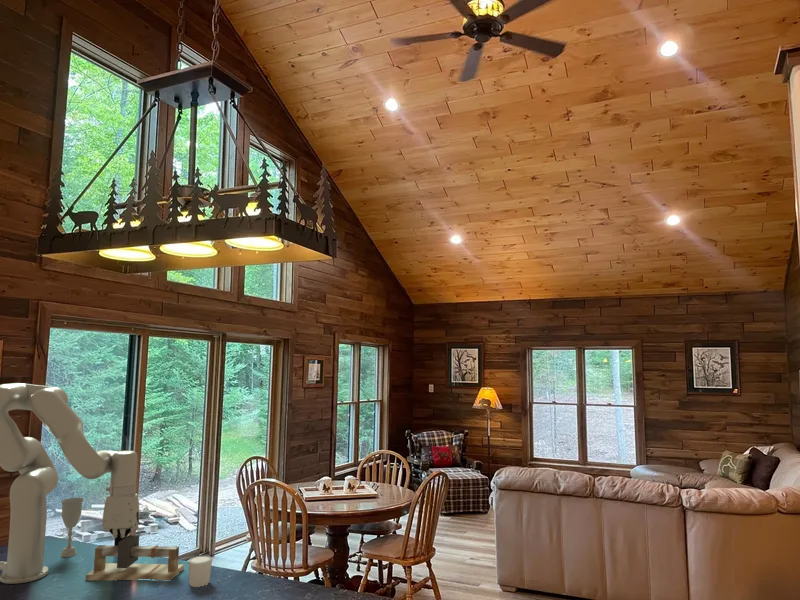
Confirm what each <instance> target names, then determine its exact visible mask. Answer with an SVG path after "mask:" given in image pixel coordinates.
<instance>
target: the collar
mask: <svg viewBox="0 0 800 600" xmlns="http://www.w3.org/2000/svg"><path fill="white" fill-rule="evenodd" d="M132 546H140V534H128V535H127V537H126V538H124V539H123V540H121V541H120V542H118V556H116V559H117V560H116V563H117V568H128V567H129V566H130V565H132V564H135V562H137V561H138V560H139V557H130V555H131V547H132Z"/></svg>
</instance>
